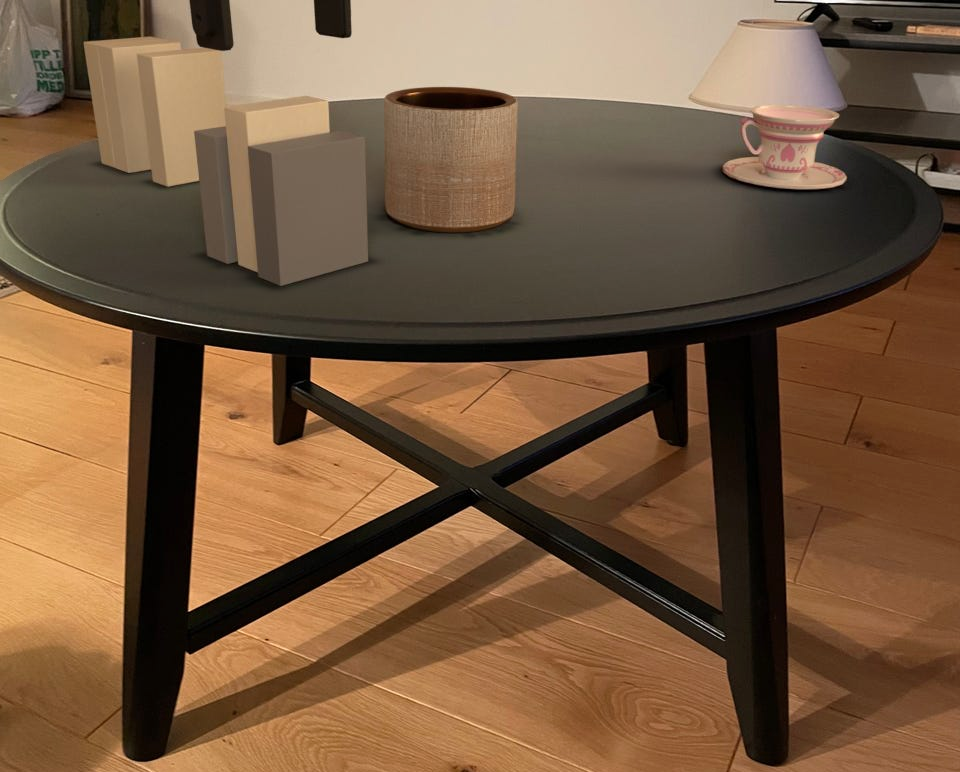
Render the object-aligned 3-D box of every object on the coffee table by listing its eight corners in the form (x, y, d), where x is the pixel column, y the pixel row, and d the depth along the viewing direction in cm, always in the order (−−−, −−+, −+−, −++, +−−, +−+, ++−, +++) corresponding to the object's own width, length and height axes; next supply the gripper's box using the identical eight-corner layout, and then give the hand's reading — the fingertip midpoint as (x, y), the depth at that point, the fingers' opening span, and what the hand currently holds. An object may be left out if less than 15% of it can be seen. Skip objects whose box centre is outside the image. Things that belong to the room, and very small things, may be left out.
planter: (517, 236, 82) (522, 112, 77) (380, 233, 82) (378, 108, 77) (511, 200, 92) (515, 87, 87) (389, 197, 91) (387, 84, 87)
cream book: (258, 273, 73) (245, 112, 67) (238, 265, 74) (223, 106, 69) (335, 253, 77) (328, 100, 72) (314, 245, 79) (306, 95, 73)
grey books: (280, 286, 71) (271, 152, 66) (206, 256, 76) (193, 130, 71) (368, 261, 76) (365, 136, 71) (293, 235, 81) (286, 116, 77)
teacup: (827, 164, 107) (839, 103, 104) (861, 194, 97) (875, 126, 94) (712, 160, 107) (720, 99, 104) (733, 190, 97) (743, 122, 94)
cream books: (167, 187, 92) (151, 57, 87) (101, 163, 99) (82, 41, 94) (232, 174, 97) (221, 50, 92) (165, 153, 104) (151, 36, 98)
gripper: (327, -253, 68) (340, 27, 76) (83, -284, 57) (130, 47, 65) (405, -261, 63) (410, 37, 72) (157, -297, 52) (197, 61, 61)
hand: (277, 41), depth 68 cm, fingers open, 9 cm apart
